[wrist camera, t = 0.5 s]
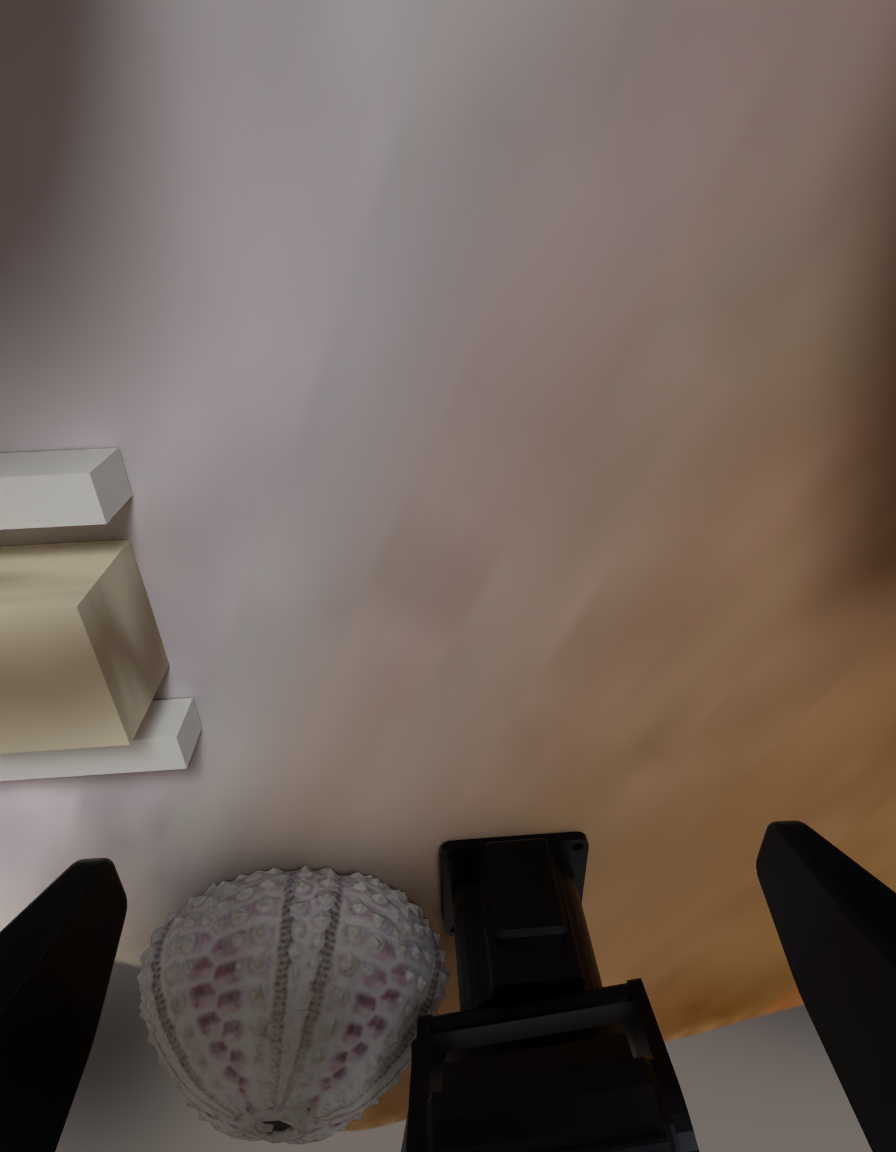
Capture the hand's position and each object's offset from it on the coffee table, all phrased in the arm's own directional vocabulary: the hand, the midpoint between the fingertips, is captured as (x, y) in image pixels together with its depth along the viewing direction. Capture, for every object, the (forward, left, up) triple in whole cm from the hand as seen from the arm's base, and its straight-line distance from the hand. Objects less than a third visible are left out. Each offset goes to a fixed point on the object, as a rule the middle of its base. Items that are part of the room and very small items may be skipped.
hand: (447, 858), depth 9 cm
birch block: (-4, +12, -13) cm, 18 cm away
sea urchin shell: (-22, +7, -13) cm, 27 cm away
